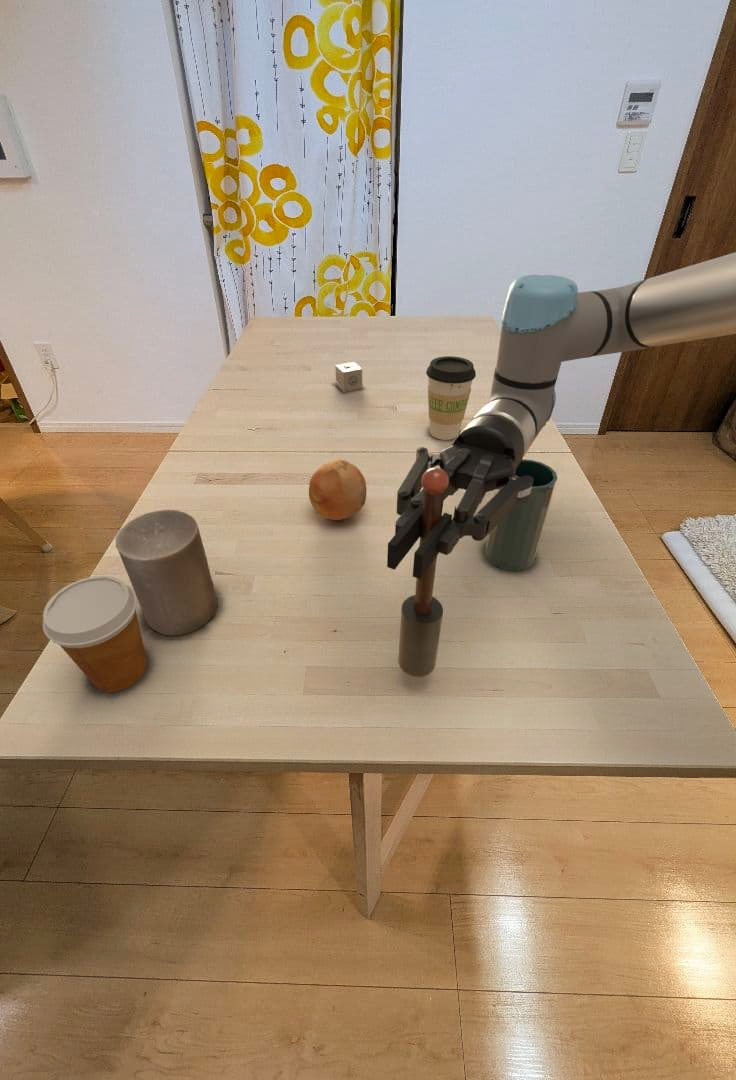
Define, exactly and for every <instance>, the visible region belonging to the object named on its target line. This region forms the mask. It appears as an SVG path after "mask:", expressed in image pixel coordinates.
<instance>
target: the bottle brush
mask: <svg viewBox="0 0 736 1080" xmlns="http://www.w3.org/2000/svg"><path fill="white" fill-rule="evenodd" d="M421 483H422V489H424V497H423V509H422V520H421V532H420V537H419V544H418V545H419V546H420V545H421V543H422V542H423V541H424V539H425V538H426V537H427V535H428V534H429V533H430V531H431V530H432V529H433V527H434V526H435V525H436V523H437V522H438V521H439V519H441V517H442V515H443V509H444V502H445V500H444V493H445V491H446V490H447V488H448V486H449V477H448V475H447V473H446V472H445V471H444V470H443V469H440V467H435V468H431V469H428V470H427V471H426V472H425V473H424V474H423V476H422V480H421ZM419 546H418V547H419ZM437 559H438V555H437V556H436V558H435V559H434V561H433V562H432V563H431V565H430V566H429V568H428V569H427V571H426V572H425V574H424V575H423V576H422V578H421V579H418V578H415V580H416V581H415V591H414V594H412V595H410V596H408V597H406V598H405V600H403V602H402V604H401V612H400V627H399V644H398V659H397V661H398V665H399V667H400V669H401V670H402V672H404V674H407V675H408V676H411V677H416V678H422V677H426V676H428V675H429V674H431V673H432V672H433V671H434V670H435V668H436V665H437V658H438V651H439V645H440V635H441V629H442V622H443V614H444V607H443V604H441V602H440V601H439V600H438V599H437V598H436V597H434V596H433V594H434V585H435V577H436V569H437Z"/></svg>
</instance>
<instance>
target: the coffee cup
mask: <svg viewBox="0 0 736 1080" xmlns="http://www.w3.org/2000/svg"><path fill="white" fill-rule="evenodd" d="M474 366H475V365H474V363H473V362H472V361H471V360H469V359H466V358H464V357H459V356H451V355H449V356H448V355H447V356H438V357H436V358H435V357H434V358H433V359H432V360H431V361H430V362H429V365H428V366H427V368H426V371H425V374H426V376H427V380H428V382H427V383H428V384H427V402H428V403H427V404H428V419H429V435H430V436H432V437H433V438H435V439H438V440H444V441H448V440H449V441H450V440H455V439H456V438H457V436H458V435H459V434H460V432H461V431H460V430H461V428H462V427H461V426H462V422H463V421H464V419H465V414H466V411H467V407H468V402H469V399H470V396H471V392H472V384H473V380H474V379H475V378H476V376H477V375H476V370H475V367H474Z"/></svg>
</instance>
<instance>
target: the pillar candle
mask: <svg viewBox="0 0 736 1080" xmlns="http://www.w3.org/2000/svg"><path fill="white" fill-rule="evenodd" d="M114 541H115V548H116V549H117V551H118V554H119V557H120V559H121V561H122V564H123V567H124V569H125V571H126V573H127V576H128V579H129V581H130V584H131V586H132V589H133V591H134V593H135V595H136V598H137V602H138V604H139V606H140V609H141V611H142V613H143V616H144V618H145V621H146V623H147V625H148V626H149V627H150V628H151V629H152V630H153V631H155V632H156V633H158V634H160V635H164V636H170V637H171V636H176V637H177V636H183V635H186V634H190V633H193V632H195V631H197V630H199V629H201V628H202V627H204V626H205V625H206V624H208V622H209V621H210V620H212V618H213V617H214V616H215V615H216V613H217V610H218V607H219V600H218V597H217V595H216V591H215V585H214V581H213V578H212V575H211V572H210V567H209V563H208V558H207V554H206V550H205V547H204V544H203V540H202V535H201V532H200V528H199V525H198V523H197V521H196V519H195V518H194V517H193V516H192V515H191V514H188V513H187V512H185V511H180V510H177V509H160V510H154V511H151V512H147V513H144V514H142V515H139V516H137V517H135V518H133V519H132V520H130V521H128V522H127V523H126V524H125V525H124V526H123V527H121V528H120V529H119V530H118V532H117V534H116V535H115V540H114Z"/></svg>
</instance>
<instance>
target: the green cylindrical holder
mask: <svg viewBox="0 0 736 1080" xmlns="http://www.w3.org/2000/svg"><path fill="white" fill-rule="evenodd" d="M515 475H516V476H518V477H522V476H525V475H527V476H531V477H532V478H533V484H532V488H531V492H530V496H529V500H528V501H526V502H523V503H521V504H519V505H516V506H515V507H514V508H513V509H512V510H511V511H510V512H509V513H508V514H507V515H506V516H505V517H504V518H503V519H502V520H501V522H500V523H499V524H498V525H497V526H496V527H495V528H494V529H493V530H492V531H491V532H490V533H489V534H488V535H487V539H486V546H485V557H486V558H487V560H488V561H489V562H490V563H491V564H492V565H493V566H495V567H497V568H499V569H501V570H504V571H510V572H520V571H525V570H527V569H529V568H530V567H531V566H532V565H533V564H534V562H535V559H536V556H537V553H538V548H539V545H540V543H541V538H542V533H543V531H544V527H545V524H546V520H547V517H548V514H549V510H550V507H551V502H552V500H553V496H554V493H555V489H556V486H557V482H558V475H557V472H556V471H555V470H554V469H553V468H552V467H551V466H549V465H547V464H546V463H544V462H541V461H537V460H534V459H526V458H525V459H524V458H523V459H522V460H521V462H520V464H519V465H518V467H517V468H516V472H515ZM501 489H502V488H500V489H496V494H497V493H498V492H499V491H500V490H501Z"/></svg>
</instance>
